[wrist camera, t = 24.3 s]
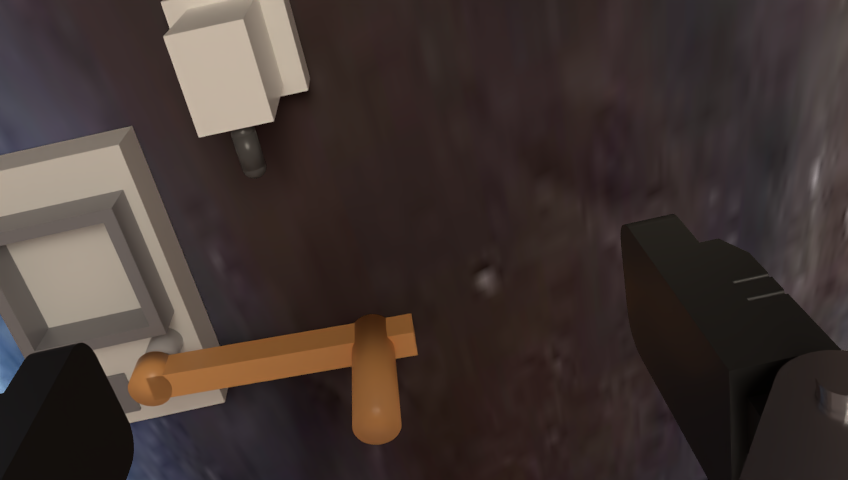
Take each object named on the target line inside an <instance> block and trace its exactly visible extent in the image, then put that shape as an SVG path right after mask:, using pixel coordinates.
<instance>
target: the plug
mask: <svg viewBox="0 0 848 480" xmlns="http://www.w3.org/2000/svg"><path fill="white" fill-rule="evenodd" d="M161 5H162V8H163V10H164V13H165V16H166V19H167V22H168V25H169V28H170V29H169V31H168V32H167V33H166V34H165V35H164V36H163V37H164V40H165V43H166V46H167V49H168V52H169V54H170V57H171V60H172V63H173V66H174V69H175V71H176V74H177V77H178V80H179V83H180V86H181V88H182V91H183V94H184V97H185V100H186V103H187V106H188V108H189V111H190V114H191V117H192V120H193V123H194V125H195V128H196V131H197V134H198V137H204V136H209V135H213V134H218V133H222V132H227V131H231V137H232V140H233V143H234V146H235V150H236V153H237V156H238V159H239V162H240V165H241V168H242V170H243V172H244V174H245V175H246V176H247V177H249V178H254V179H255V178H259V177H261V176H262V175H263V174H264V173H265V171H266V162H265V159H264V155H263V152H262V149H261V146H260V143H259V139H258V136H257V133H256V130H255V127H254V126H255V125H259V124H264V123H269V122H273V121H274V119H275V115H276V111H277V107H278V104H279V100H280V97H281V96H285V95H290V94H295V93H299V92H304V91H308V88H309V82H310V76H309V73H308V69H307V65H306V62H305V58H304V54H303V50H302V47H301V43H300V39H299V36H298V32H297V28H296V24H295V21H294V17H293V13H292V10H291V6H290V2H289V0H162V1H161Z"/></svg>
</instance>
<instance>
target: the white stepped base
mask: <svg viewBox="0 0 848 480" xmlns="http://www.w3.org/2000/svg"><path fill="white" fill-rule="evenodd" d="M0 314H1V316H2V318H3V320H4V322H5V323H6V325H7V327H8V329H9V331H10V332H11V334H12V336H13V338H14V340H15V342H16V343H17V345H18V347H19V349H20V351H21V352H22V354H23V356H24V358H25V359H26V357H27V356H28V355H30V354H32V353H35V352H39V351H44V350H48V349H53V348H58V347H62V346H67V345H71V344H76V343H85V344H87V345H88V346H90V347H91V348H92V350H93V351H94V353H95V354H96V356H97V358H98V360H99V362H100V364H101V366H102V368H103V370H104V372H105V374H106V376H107V378H108V380H109V382H110V384H111V386H112V388H113V390H114V392H115V394H116V396H117V398H118V401H119V403H120V405H121V407H122V409H123V411H124V413H125V415H126V417H127V419H128V421H129V423H132V422H137V421H141V420H146V419H151V418H155V417H160V416H164V415H169V414H174V413H178V412H183V411H187V410H192V409H197V408H201V407H206V406H211V405H215V404H220V403H224V402H225V400H226V395H227V390H228V388H222V389H217V390H211V391H205V392H199V393H193V394H187V395H182V396H176V397H170V399H169V400H168V401H167V402H166V403H164V404H162V405H159V406H145V405H142V404H140V403H138V402H136V401H135V400H134V399H133V398H132V397H131V396H130V394H129V392H128V383H129V381H130V378H131V376H132V373H133V371H134V368H135V366H136V363H137V361H138V359H139V358H140V357H141V356H142V355H144V354H146V353H148V352H153V351H158V352H163V353H166V354H168V355H172V354H178V353H183V352H189V351H195V350H201V349H207V348H213V347H218V346H220V345H219V342H218V340H217V337H216V335H215V332H214V330H213V327H212V325H211V322H210V320H209V317H208V315H207V312H206V310H205V307H204V305H203V302H202V300H201V297H200V295H199V292H198V290H197V287H196V285H195V282H194V280H193V277H192V275H191V272H190V270H189V267H188V265H187V262H186V260H185V257H184V255H183V252H182V250H181V247H180V245H179V242H178V240H177V237H176V235H175V232H174V230H173V227H172V225H171V222H170V220H169V217H168V214H167V212H166V209H165V207H164V204H163V202H162V199H161V197H160V194H159V192H158V189H157V187H156V184H155V182H154V179H153V177H152V174H151V172H150V169H149V167H148V164H147V162H146V159H145V157H144V154H143V152H142V149H141V147H140V144H139V142H138V139H137V137H136V134H135V132H134V129H133V127H132V126H130V127H125V128H121V129H116V130H112V131H107V132H103V133H98V134H94V135H90V136H85V137H81V138H76V139H72V140H67V141H63V142H58V143H54V144H49V145H45V146H40V147H36V148H31V149H27V150H22V151H18V152H13V153H9V154H4V155H0Z"/></svg>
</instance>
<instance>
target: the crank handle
mask: <svg viewBox="0 0 848 480" xmlns="http://www.w3.org/2000/svg"><path fill="white" fill-rule="evenodd" d="M414 355H418V353H417V345H416V338H415V332H414V326H413V321H412V315H411V314H405V315H399V316H393V317H388V318H385V317H383V316H381V315H377V314H369V315H365V316H362V317H361V318H359V319H358V320H357V321H356V322H355V323H353V324H347V325H341V326H335V327H329V328H323V329H318V330H312V331H306V332H300V333H294V334H288V335H283V336H277V337H271V338H265V339H259V340H253V341H248V342H242V343H236V344H230V345H224V346H218V347H213V348H207V349H201V350H195V351H189V352H183V353H178V354H172V355H168V354H166V353H163V352H158V351H153V352H148V353H146V354H144V355H142V356H141V357H140V358H139V359H138V361H137V363H136V366H135V368H134V371H133V373H132V376H131V378H130V381H129V383H128V392H129V394H130V396H131V397H132V398H133V399H134V400H135V401H136V402H138V403H140V404H142V405H145V406H159V405H162V404H164V403H166V402H167V401H168V400H169V399H170V397H176V396H182V395H187V394H193V393H199V392H205V391H211V390H217V389H222V388H228V387H234V386H240V385H246V384H251V383H257V382H263V381H269V380H275V379H281V378H286V377H292V376H298V375H304V374H310V373H315V372H321V371H327V370H333V369H339V368H345V367H350V366H352V429H353V432H354V434H355V436H356V437H357V438H358V439H359V440H361V441H362V442H364V443H367V444H372V445H379V444H384V443H387V442H390V441H391V440H393V439H394V438H395V437H396V436H397V435H398V434H399V432H400V430H401V413H400V402H399V391H398V380H397V369H396V359H397V358H403V357H409V356H414Z"/></svg>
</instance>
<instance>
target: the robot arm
mask: <svg viewBox="0 0 848 480" xmlns="http://www.w3.org/2000/svg"><path fill="white" fill-rule="evenodd" d="M621 248H622V258H623V269H624V279H625V289H626V300H627V310H628V318H629V323H630V328H631V332H632V336H633V339H634V342H635V345H636V348H637V350H638V352H639V354H640V356H641V358H642V360H643V362H644V364H645V366H646V367H647V369H648V371H649V373H650V375H651V376H652V378H653V380H654V382H655V384H656V385H657V387H658V389H659V391H660V393H661V394H662V396H663V398H664V400H665V402H666V404H667V405H668V407H669V409H670V411H671V413H672V414H673V416H674V418H675V420H676V422H677V423H678V425H679V427H680V429H681V431H682V432H683V434H684V436H685V438H686V440H687V442H688V443H689V445H690V447H691V449H692V451H693V452H694V454H695V456H696V458H697V460H698V461H699V463H700V465H701V467H702V469H703V470H704V472H705V474H706V476H707V478H708V480H848V351H846V350H841V349H840V348H839V347H838V346H837V345H836V344H835V343H834V342H833V341H832V340H831V339H830V337H829V336H828V335H827V334H826V333H825V332H824V331H823V330H822V329H821V328H820V327H819V326H818V325H817V324H816V323H815V322H814V321H813V320H812V319H811V317H810V316H809V315H808V314H807V313H806V312H805V311H804V310H803V309H802V308H801V307H800V306H799V305H798V304H797V303H796V302H795V301H794V300H793V298H792V297H791V296H790V295H789V294H785V293H784V289H783V288H782V287H781V286H780V285H779V284H778V283H777V282H776V281H775V280H774V278H773V277H769V275H768V272H767V271H766V270H765V269H764V268H763V267H762V266H761V265H760V264H759V263H758V262H757V261H756V260H755V258H754V257H753V256H752V255H751V254H750V253H749V252H746V251H744V250H742V249H740V248H738V247H736V246H733V245H731V244H729V243H727V242H725V241H722V240H720V239H714V240H710V241H705V242H700V243H699V242H698V240H697V239H696V238H695V237H694V236H693V234H692V233H691V232H690V231H689V230H688V229H687V227H686V226H685V225H684V224H683V223H682V222H681V220H680V219H679V218H678V217H677V216H676V215H674V214H670V215H666V216H661V217H657V218H652V219H648V220H643V221H638V222H634V223H629V224H625V225H623V226H622V228H621ZM133 454H134V443H133V435H132V430H131V427H130V423H129V421H128V419H127V417H126V415H125V413H124V411H123V409H122V407H121V405H120V403H119V401H118V398H117V396H116V394H115V392H114V390H113V388H112V386H111V384H110V382H109V380H108V378H107V376H106V374H105V372H104V370H103V368H102V366H101V364H100V362H99V360H98V358H97V356H96V354H95V353H94V351H93V350H92V348H91V347H90V346H88V345H87V344H85V343H76V344H71V345H67V346H62V347H58V348H53V349H48V350H44V351H39V352H35V353H32V354H30V355H28V356H27V357H26V359H25V360H24V362H23V363H22V365H21V366H20V368H19V370H18V371H17V373H16V374H15V376H14V378H13V379H12V381H11V382H10V384H9V386H8V387H7V389H6V390H5V392H4V393H2V394H0V480H126V479H127V476H128V473H129V470H130V467H131V464H132V461H133Z"/></svg>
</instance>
